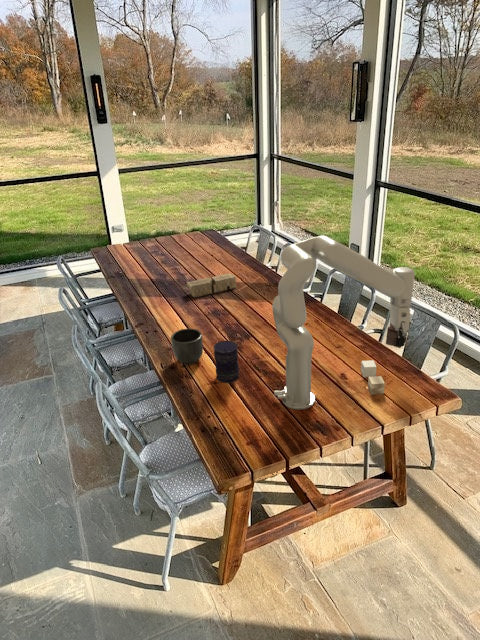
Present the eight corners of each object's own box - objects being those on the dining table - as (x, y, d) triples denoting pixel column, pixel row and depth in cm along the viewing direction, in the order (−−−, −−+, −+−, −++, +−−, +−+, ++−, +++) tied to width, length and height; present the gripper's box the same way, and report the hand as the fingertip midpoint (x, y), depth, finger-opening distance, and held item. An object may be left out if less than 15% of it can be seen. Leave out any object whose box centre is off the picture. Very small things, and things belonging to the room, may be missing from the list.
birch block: (370, 394, 181) (371, 384, 179) (367, 387, 185) (368, 376, 183) (383, 394, 181) (384, 383, 179) (380, 386, 185) (381, 376, 183)
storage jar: (217, 370, 203) (214, 340, 196) (239, 369, 202) (237, 340, 195) (215, 383, 194) (212, 352, 187) (239, 382, 193) (236, 352, 186)
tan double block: (231, 285, 293) (187, 293, 282) (230, 272, 289) (186, 280, 279) (236, 289, 286) (191, 298, 276) (235, 276, 283) (190, 285, 272)
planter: (170, 357, 215) (167, 332, 209) (198, 349, 220) (196, 325, 214) (179, 371, 204) (175, 346, 198) (208, 363, 208) (206, 338, 202)
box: (391, 338, 186) (393, 321, 183) (406, 342, 183) (408, 325, 180) (385, 344, 182) (387, 327, 179) (400, 348, 179) (402, 331, 176)
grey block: (363, 377, 192) (364, 367, 189) (360, 370, 196) (361, 360, 194) (375, 376, 192) (376, 366, 189) (372, 370, 196) (373, 360, 194)
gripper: (418, 309, 166) (413, 351, 174) (403, 290, 182) (398, 329, 190) (397, 310, 167) (393, 351, 174) (384, 291, 182) (380, 330, 190)
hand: (396, 340), depth 182 cm, fingers closed on box, 8 cm apart
